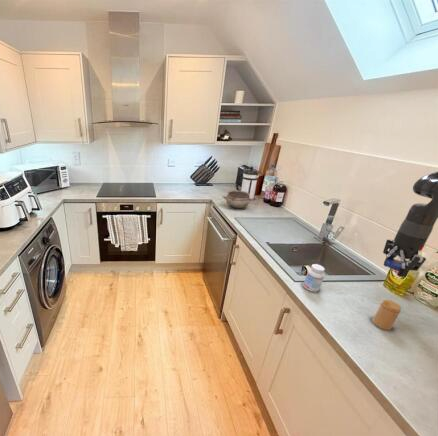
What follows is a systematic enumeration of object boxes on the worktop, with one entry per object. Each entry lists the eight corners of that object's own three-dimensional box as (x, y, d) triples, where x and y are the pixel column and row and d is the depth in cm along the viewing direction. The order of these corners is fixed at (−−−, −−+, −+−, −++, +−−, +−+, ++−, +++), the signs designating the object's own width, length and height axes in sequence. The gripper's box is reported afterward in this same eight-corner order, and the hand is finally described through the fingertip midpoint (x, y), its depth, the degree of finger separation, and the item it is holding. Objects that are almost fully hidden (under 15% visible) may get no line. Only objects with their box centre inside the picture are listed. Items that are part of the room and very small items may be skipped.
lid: (388, 268, 89) (390, 265, 88) (382, 260, 94) (384, 257, 93) (409, 273, 87) (411, 269, 86) (402, 265, 91) (404, 261, 91)
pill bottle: (300, 282, 109) (307, 262, 104) (315, 284, 108) (322, 263, 103) (306, 291, 104) (313, 270, 99) (321, 293, 102) (329, 272, 98)
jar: (383, 319, 89) (394, 300, 86) (395, 330, 85) (406, 310, 81) (368, 317, 90) (378, 298, 86) (379, 329, 85) (390, 309, 81)
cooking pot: (250, 204, 204) (253, 191, 199) (254, 212, 188) (257, 198, 183) (220, 202, 210) (222, 189, 205) (221, 209, 193) (223, 195, 188)
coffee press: (253, 196, 224) (259, 165, 212) (255, 202, 210) (262, 168, 198) (234, 195, 228) (239, 164, 216) (235, 200, 214) (240, 167, 202)
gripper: (386, 223, 91) (369, 260, 98) (420, 241, 78) (398, 282, 85) (407, 224, 90) (389, 261, 97) (445, 243, 77) (421, 284, 84)
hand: (393, 270), depth 91 cm, fingers closed on lid, 6 cm apart
